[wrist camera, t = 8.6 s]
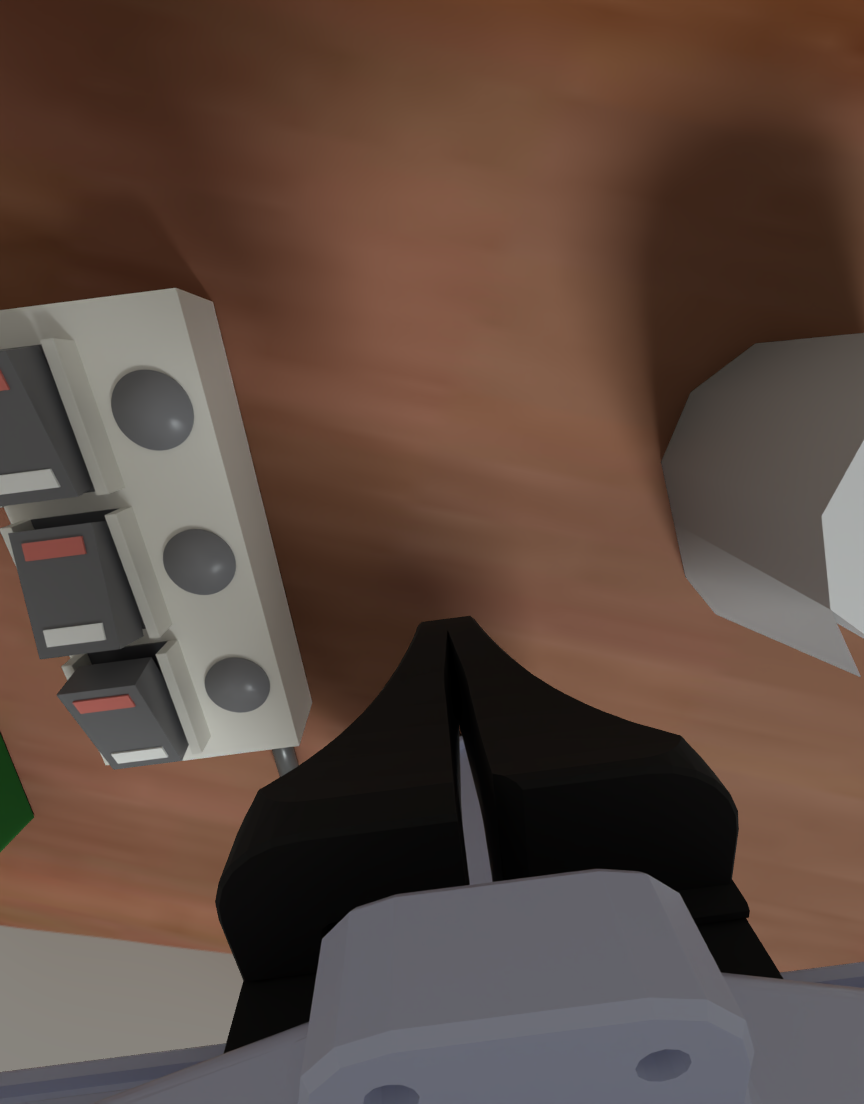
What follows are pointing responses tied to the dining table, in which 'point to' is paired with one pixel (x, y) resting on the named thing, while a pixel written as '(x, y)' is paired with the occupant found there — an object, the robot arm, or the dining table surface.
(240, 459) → the switch panel
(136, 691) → the rocker
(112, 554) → the rocker
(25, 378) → the rocker
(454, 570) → the dining table surface
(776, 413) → the toilet tissue
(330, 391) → the dining table surface
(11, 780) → the milk carton
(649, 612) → the dining table surface
